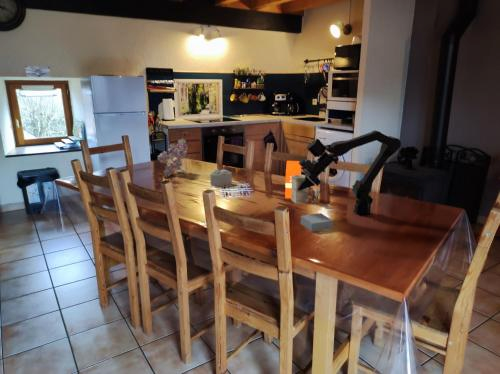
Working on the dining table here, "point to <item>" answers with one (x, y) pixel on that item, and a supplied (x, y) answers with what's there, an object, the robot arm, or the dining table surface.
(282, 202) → the dining table surface
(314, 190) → the bull figurine
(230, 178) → the lumpy-topped squat cylinder
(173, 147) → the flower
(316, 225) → the slate plinth
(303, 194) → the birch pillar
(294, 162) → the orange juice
